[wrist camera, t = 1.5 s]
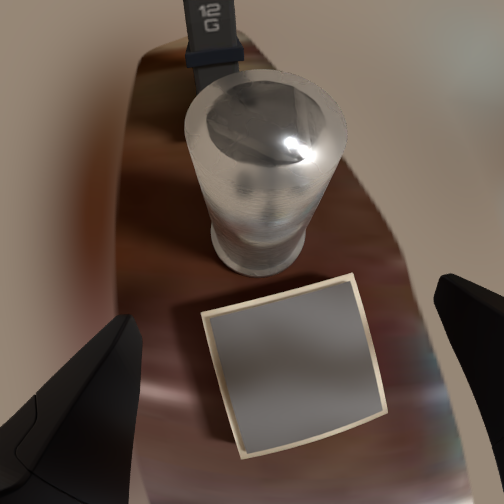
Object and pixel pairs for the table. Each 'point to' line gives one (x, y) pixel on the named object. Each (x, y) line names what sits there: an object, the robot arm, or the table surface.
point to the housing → (263, 163)
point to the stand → (295, 366)
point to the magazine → (211, 40)
